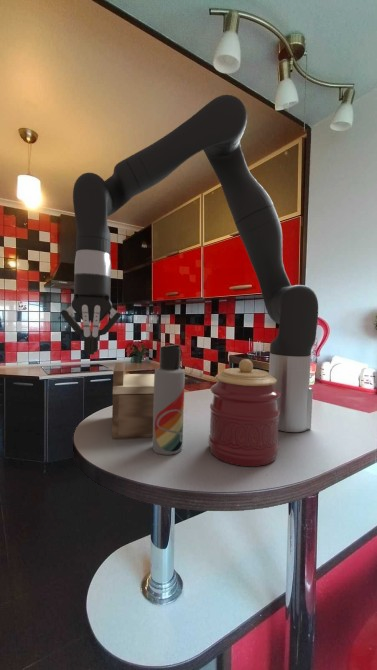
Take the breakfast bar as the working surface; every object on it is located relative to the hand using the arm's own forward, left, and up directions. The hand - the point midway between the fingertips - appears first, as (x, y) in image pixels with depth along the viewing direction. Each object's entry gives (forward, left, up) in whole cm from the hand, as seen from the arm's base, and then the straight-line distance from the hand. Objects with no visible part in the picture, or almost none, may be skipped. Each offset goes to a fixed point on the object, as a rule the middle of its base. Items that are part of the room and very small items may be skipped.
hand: (91, 354), depth 66 cm
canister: (-30, +16, -17) cm, 37 cm away
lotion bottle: (-16, +13, -17) cm, 26 cm away
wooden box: (-11, 0, -17) cm, 20 cm away
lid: (-11, 0, -7) cm, 13 cm away
